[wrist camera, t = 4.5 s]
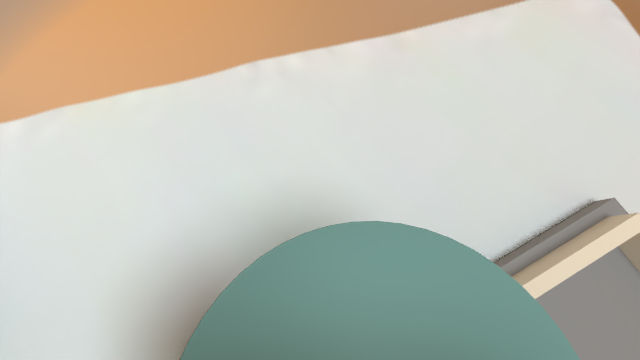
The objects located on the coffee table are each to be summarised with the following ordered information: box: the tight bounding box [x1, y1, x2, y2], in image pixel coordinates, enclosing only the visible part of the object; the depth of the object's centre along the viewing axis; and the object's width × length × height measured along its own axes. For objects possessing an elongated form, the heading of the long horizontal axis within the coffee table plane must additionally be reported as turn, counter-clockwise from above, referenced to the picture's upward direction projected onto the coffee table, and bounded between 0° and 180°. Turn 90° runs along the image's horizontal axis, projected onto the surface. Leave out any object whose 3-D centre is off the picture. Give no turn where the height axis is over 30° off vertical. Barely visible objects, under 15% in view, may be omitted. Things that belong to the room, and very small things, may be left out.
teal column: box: [180, 221, 580, 360], centre depth 9 cm, size 5×5×14 cm
